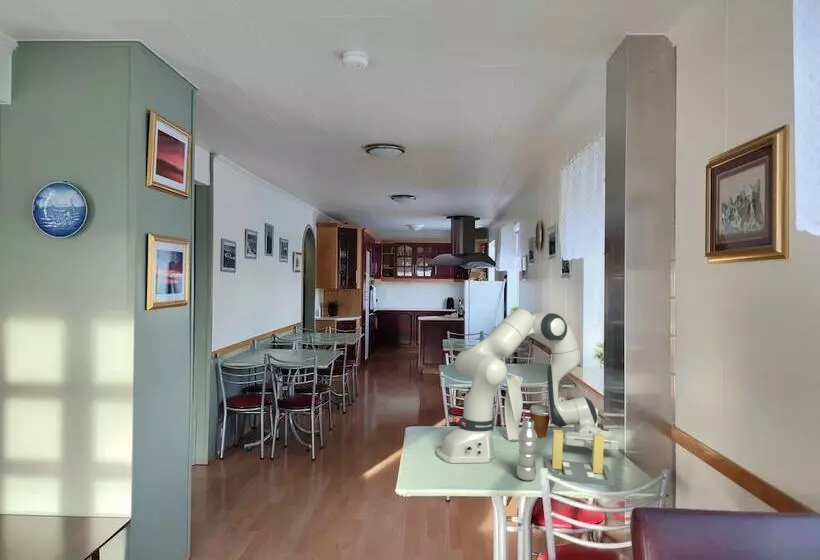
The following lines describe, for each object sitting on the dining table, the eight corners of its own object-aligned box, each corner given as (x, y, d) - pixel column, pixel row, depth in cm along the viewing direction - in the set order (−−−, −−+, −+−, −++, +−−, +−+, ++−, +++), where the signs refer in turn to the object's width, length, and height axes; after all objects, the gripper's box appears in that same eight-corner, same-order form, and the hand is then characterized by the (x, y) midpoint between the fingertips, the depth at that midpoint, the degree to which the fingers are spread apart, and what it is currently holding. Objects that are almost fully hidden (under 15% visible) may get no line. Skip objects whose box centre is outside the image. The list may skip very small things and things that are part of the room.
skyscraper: (507, 442, 220) (510, 375, 219) (499, 436, 228) (502, 371, 227) (525, 441, 222) (529, 375, 221) (517, 435, 230) (520, 371, 229)
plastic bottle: (539, 479, 181) (542, 421, 181) (529, 484, 176) (532, 424, 176) (522, 473, 186) (525, 416, 185) (512, 478, 181) (515, 420, 180)
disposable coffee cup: (540, 440, 225) (543, 412, 224) (522, 433, 232) (525, 406, 231) (554, 436, 231) (556, 409, 230) (535, 430, 238) (538, 403, 238)
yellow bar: (602, 473, 188) (604, 437, 188) (592, 472, 189) (594, 436, 189) (600, 469, 192) (602, 434, 192) (591, 468, 193) (592, 433, 193)
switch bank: (614, 486, 178) (615, 481, 178) (547, 478, 182) (547, 473, 182) (606, 469, 194) (606, 464, 194) (544, 462, 198) (544, 458, 198)
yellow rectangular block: (561, 469, 191) (563, 433, 191) (552, 468, 192) (554, 432, 191) (560, 465, 195) (562, 430, 195) (551, 464, 196) (553, 429, 195)
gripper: (562, 425, 214) (565, 436, 200) (615, 430, 210) (622, 441, 196) (561, 441, 214) (564, 452, 200) (614, 446, 210) (622, 458, 196)
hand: (594, 447), depth 198 cm, fingers closed
